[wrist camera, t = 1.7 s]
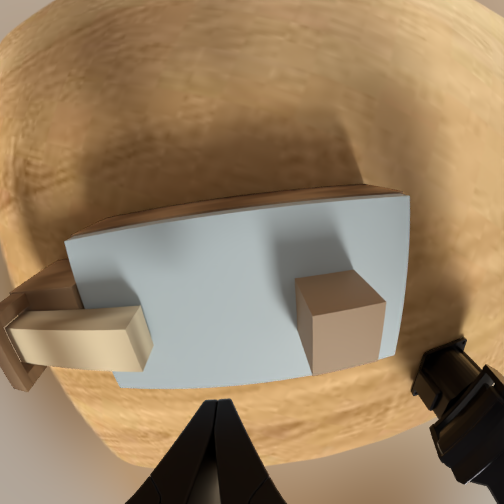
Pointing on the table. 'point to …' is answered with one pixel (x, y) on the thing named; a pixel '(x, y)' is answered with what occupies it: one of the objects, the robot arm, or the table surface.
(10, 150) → the table surface
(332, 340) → the lid
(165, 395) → the table surface
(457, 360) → the robot arm
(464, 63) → the table surface
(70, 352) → the sliding latch bolt
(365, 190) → the brown wooden open box
